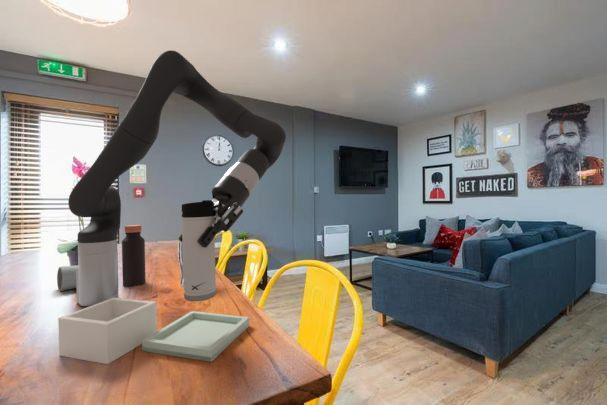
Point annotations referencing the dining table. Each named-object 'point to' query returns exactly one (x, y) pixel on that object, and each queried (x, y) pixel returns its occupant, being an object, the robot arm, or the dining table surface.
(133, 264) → the bottle
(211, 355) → the tray
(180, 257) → the beer glass
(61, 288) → the ceramic mug
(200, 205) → the travel mug
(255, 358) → the dining table surface
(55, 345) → the dining table surface
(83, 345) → the holder
